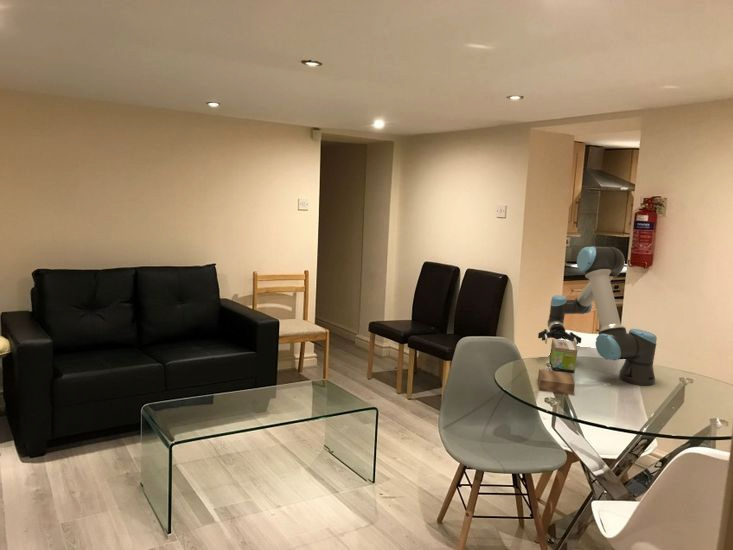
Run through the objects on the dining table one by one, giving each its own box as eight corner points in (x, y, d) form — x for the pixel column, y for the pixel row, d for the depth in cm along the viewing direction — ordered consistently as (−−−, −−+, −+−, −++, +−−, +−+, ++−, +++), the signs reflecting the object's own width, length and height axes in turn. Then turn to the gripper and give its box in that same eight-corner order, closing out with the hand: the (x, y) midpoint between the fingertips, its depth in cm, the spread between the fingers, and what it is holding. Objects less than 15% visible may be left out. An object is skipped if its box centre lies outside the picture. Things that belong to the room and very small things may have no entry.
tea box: (574, 381, 267) (578, 349, 264) (551, 378, 269) (554, 347, 266) (569, 370, 281) (573, 340, 278) (548, 367, 283) (551, 337, 280)
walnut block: (570, 384, 264) (571, 373, 263) (573, 395, 250) (574, 384, 249) (537, 379, 267) (539, 369, 266) (539, 391, 253) (540, 380, 252)
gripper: (581, 340, 301) (587, 353, 281) (531, 334, 306) (533, 346, 286) (583, 326, 299) (589, 338, 279) (532, 320, 304) (535, 332, 284)
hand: (561, 342), depth 282 cm, fingers open, 13 cm apart
